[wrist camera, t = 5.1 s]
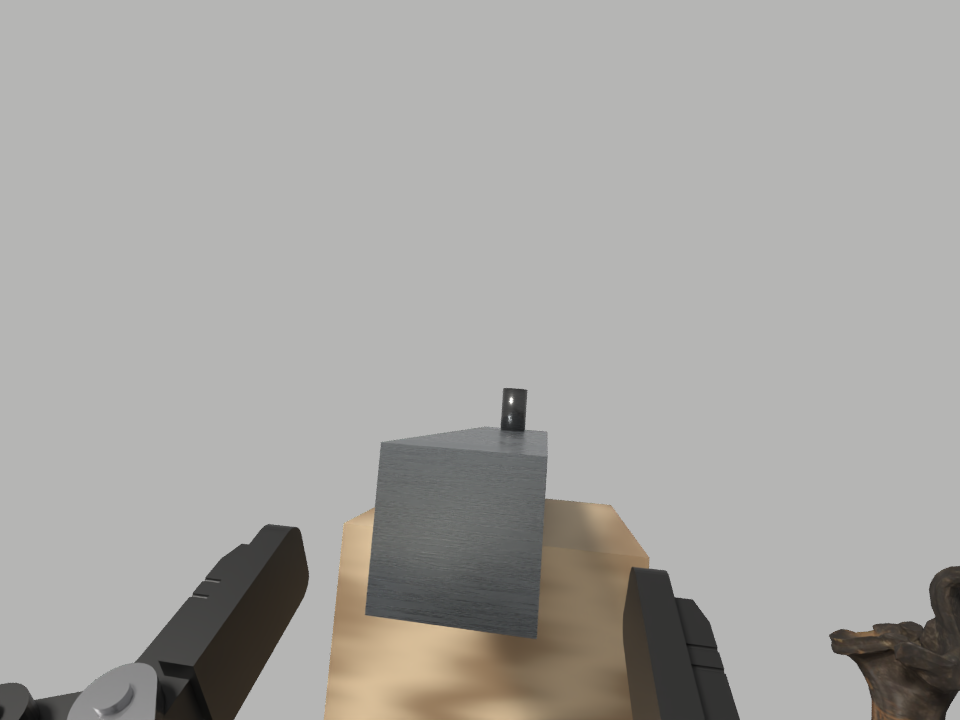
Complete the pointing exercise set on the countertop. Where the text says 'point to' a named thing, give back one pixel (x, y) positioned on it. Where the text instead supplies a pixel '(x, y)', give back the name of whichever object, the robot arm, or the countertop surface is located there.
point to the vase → (911, 657)
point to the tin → (462, 527)
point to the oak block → (494, 637)
